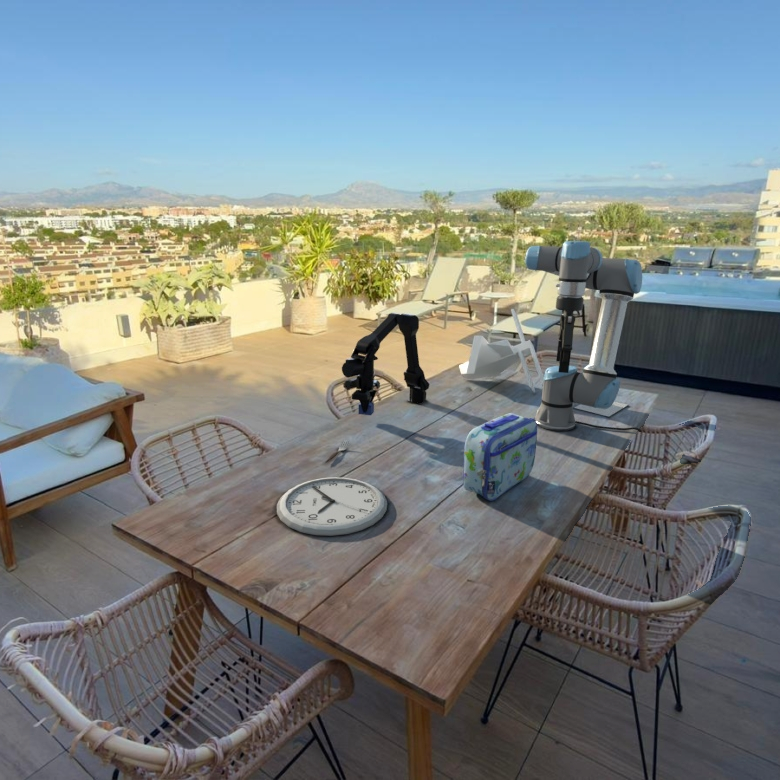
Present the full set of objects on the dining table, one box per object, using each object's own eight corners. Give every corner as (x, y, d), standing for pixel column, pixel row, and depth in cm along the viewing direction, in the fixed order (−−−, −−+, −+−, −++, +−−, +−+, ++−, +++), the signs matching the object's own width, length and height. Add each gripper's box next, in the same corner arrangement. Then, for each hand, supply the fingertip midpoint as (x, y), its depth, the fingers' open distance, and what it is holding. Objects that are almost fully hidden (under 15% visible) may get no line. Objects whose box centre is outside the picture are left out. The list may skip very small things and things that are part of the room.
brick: (361, 410, 208) (361, 401, 207) (373, 412, 207) (374, 402, 206) (358, 414, 205) (358, 404, 203) (371, 415, 203) (371, 405, 202)
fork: (322, 463, 168) (321, 457, 167) (343, 444, 182) (343, 439, 181) (329, 464, 167) (329, 458, 166) (349, 446, 181) (349, 440, 180)
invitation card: (608, 416, 214) (573, 407, 224) (608, 416, 214) (573, 408, 224) (628, 404, 229) (594, 396, 238) (628, 405, 229) (594, 397, 238)
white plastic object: (480, 422, 262) (459, 399, 237) (462, 348, 284) (440, 320, 259) (552, 397, 249) (538, 371, 225) (527, 322, 271) (511, 291, 247)
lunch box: (487, 508, 142) (493, 436, 136) (456, 493, 150) (460, 425, 143) (537, 478, 160) (544, 414, 154) (507, 466, 167) (513, 405, 161)
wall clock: (392, 527, 129) (268, 531, 127) (391, 533, 130) (269, 537, 127) (383, 473, 158) (282, 475, 155) (383, 478, 158) (282, 480, 156)
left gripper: (353, 364, 211) (354, 401, 216) (338, 377, 194) (338, 416, 199) (380, 367, 209) (380, 403, 214) (367, 379, 192) (367, 419, 196)
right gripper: (554, 290, 165) (547, 356, 171) (559, 300, 141) (550, 376, 148) (580, 291, 163) (571, 358, 169) (588, 302, 140) (578, 378, 146)
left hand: (366, 410), depth 206 cm, fingers closed on brick, 4 cm apart
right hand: (561, 366), depth 158 cm, fingers open, 13 cm apart
